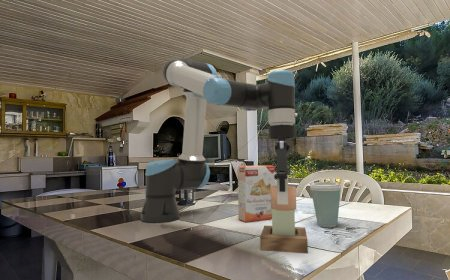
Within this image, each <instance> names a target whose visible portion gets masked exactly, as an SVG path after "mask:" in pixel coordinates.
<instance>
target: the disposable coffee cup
mask: <svg viewBox="0 0 450 280" xmlns="http://www.w3.org/2000/svg"><path fill="white" fill-rule="evenodd" d="M309 188H310V191H311V197H312V202H313V207H314V211H315V213H314V214H315V217H316V223H317V224H318V227H321V228H336V227H337V225H338V223H339V211H340V210H339V209H340V200H341V190H342V188H341V186H340V184H339V182H335V181H319V182H318V181H317V182H313V183H311V185H310V187H309Z"/></svg>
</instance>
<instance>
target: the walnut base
mask: <svg viewBox="0 0 450 280" xmlns="http://www.w3.org/2000/svg"><path fill="white" fill-rule="evenodd" d="M260 233H261V234H260V238H259V240H260V242H259V244H260V246H259V247H260V248H259V249H260V251H269V252H270V251H271V252H273V251H274V252H287V253H302V254H308V250H309V249H308V235H307V230H306V227H305V226H304V227H301V226H295V236H286V235H272V225H263V228H262V231H261V232H260Z"/></svg>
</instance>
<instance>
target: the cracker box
mask: <svg viewBox="0 0 450 280" xmlns="http://www.w3.org/2000/svg"><path fill="white" fill-rule="evenodd" d="M237 169H238V170H237V171H238V172H237V173H238V174H237V175H238V177H237V178H238V179H237V180H238V181H237V183H238V184H237V188H238V192H237V193H238V195H237V198H238V199H237V200H238V203H237V204H238V206H237V207H238V208H237V211H238V215H237V217H238V218H237V219H238V220H239V221H242V222H244V223H251V222H257V221H264V220H265V221H267V220H272V209H271V186H276V179H274V175H276V166H275V165H241V166H240V165H238V167H237Z"/></svg>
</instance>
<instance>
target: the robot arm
mask: <svg viewBox="0 0 450 280" xmlns="http://www.w3.org/2000/svg"><path fill="white" fill-rule="evenodd" d="M161 73H162V78H163V80H164V81H165V82H166V83H167V84H169V85H170V86H173V87H176V88H181V89H183V95H184V96H185V97H186V99H185V113H184V115H185V116H184V126H183V138H182V151H181V152H182V153H181V154H180V155H179V156H178V158H177V161H176V160H175V158H171V159H160V160H154V161H150V162H148V163H147V164H146V165H145V173H144V175H145V201H144V204H143V207H142V210H141V212H140V220H141V221H142V222H144V223H145V222H146V223H166V222H167V223H168V222H173V221H176V220H179V219H180V216H181V215H180V213H181V212H180V209H179V206H178V203H177V200H176V191H185V190H186V191H187V190H196V189H201V188H203V187H205V186H206V185H207V184H208V183H209V179H210V175H211V170H210V165H209V164H208V162H206V158H205V157H204V155H203V148H204V136H205V127H206V126H205V125H206V114H207V103H209V104H212V105H215V106H227V107H235V108H241V109H242V110H243V111H245V112H252V111H253V112H254V111H258V110H262V109H267V108H268V109H267V110H268V112H267V116H268V120H267V121H268V125H270V126H268V138H269V139H270V140H276V145H275V146H274V152H275V159H276V173H275V175H274V179H275V180H276V186H277V204H284V205H288V186H289V176H290V175H291V171H289V169H288V159H290V155H289V153H290V145H289V144H288V142H287V140H293V139H294V140H295V138H296V136H297V133H296V130H297V129H296V127H297V126H295V125H294V124H296V117H298V112H296V104H295V103H296V102H295V100H296V97H295V96H296V94H295V93H296V91H295V90H296V85H295V75H294V72H292V70H289V69H288V70H287V69H278V70H272V71H270V72H269V73H268V75H267V81H266V82H263V83H259V84H253V83H247V82H242V81H237V80H233V79H228V78H225V77H222V76H219V75H218V72H217V70H216V68H215V67H214V66H213V65H212V64H210V63H206V62H205V61H203V62H202V61H198V60H193V59H189V58H188V59H187V58H184V57H173V58H170V59H168V60H166V62H165V63H164V64H163V66H162V69H161Z"/></svg>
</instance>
